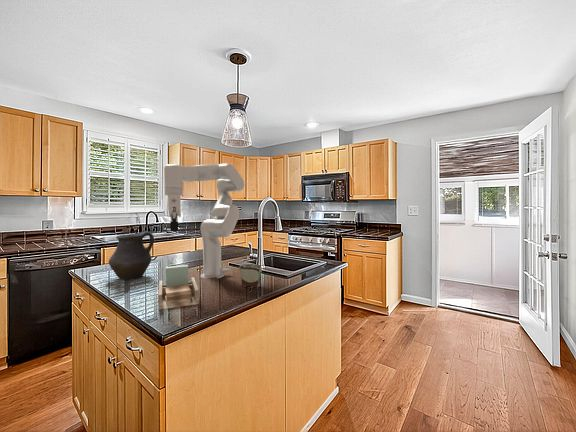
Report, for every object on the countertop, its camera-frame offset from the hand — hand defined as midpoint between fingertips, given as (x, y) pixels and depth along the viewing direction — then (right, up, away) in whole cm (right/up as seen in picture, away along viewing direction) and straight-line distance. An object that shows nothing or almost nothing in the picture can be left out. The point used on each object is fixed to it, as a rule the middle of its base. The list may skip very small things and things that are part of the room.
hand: (174, 229), depth 128 cm
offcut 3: (+7, -28, -14) cm, 32 cm away
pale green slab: (+4, -28, -5) cm, 28 cm away
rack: (+6, -29, -10) cm, 32 cm away
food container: (+34, -28, +12) cm, 46 cm away
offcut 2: (+7, -27, -13) cm, 31 cm away
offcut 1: (+7, -25, -14) cm, 29 cm away
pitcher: (-33, -28, +26) cm, 50 cm away
